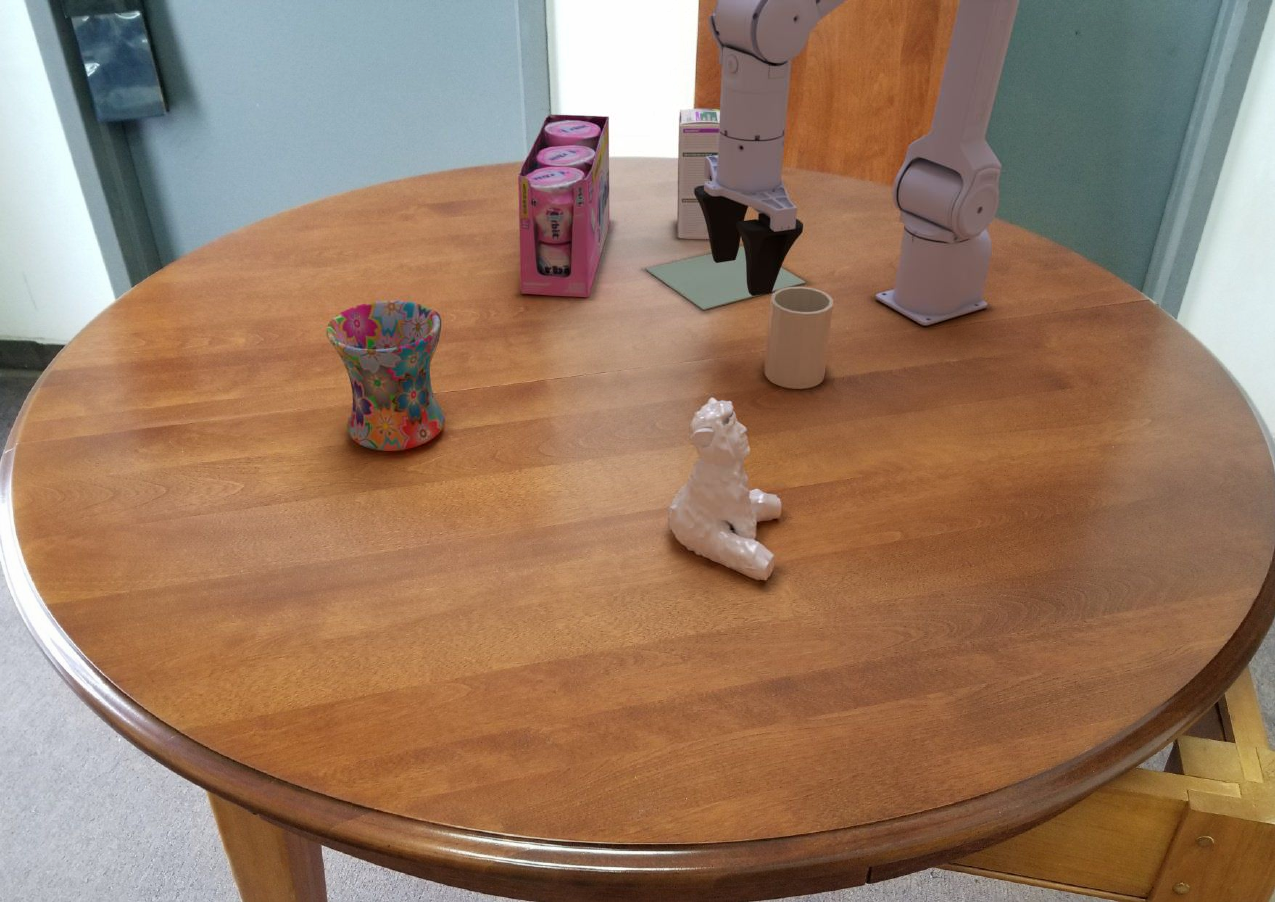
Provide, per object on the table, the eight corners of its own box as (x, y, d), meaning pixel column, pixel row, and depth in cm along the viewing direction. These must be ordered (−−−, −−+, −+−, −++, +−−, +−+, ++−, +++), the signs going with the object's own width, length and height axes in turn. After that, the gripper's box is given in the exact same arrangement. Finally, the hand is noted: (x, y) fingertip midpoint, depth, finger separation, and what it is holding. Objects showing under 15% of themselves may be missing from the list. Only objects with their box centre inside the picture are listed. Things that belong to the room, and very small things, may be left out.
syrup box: (723, 240, 132) (730, 122, 124) (675, 239, 132) (679, 121, 124) (721, 222, 137) (727, 108, 129) (675, 221, 137) (678, 107, 129)
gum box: (589, 304, 117) (587, 183, 110) (517, 301, 118) (511, 180, 110) (610, 222, 137) (610, 115, 129) (549, 219, 137) (545, 112, 130)
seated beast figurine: (772, 587, 78) (787, 451, 72) (656, 573, 80) (660, 437, 73) (781, 511, 86) (794, 381, 80) (675, 499, 87) (679, 370, 81)
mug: (407, 471, 90) (393, 360, 84) (321, 443, 94) (302, 334, 88) (487, 406, 99) (479, 301, 93) (406, 382, 103) (393, 280, 97)
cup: (799, 354, 108) (807, 281, 104) (836, 379, 104) (846, 304, 99) (752, 368, 106) (758, 294, 101) (788, 394, 101) (796, 318, 97)
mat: (744, 247, 131) (744, 245, 131) (805, 283, 122) (805, 281, 122) (646, 270, 125) (646, 268, 125) (703, 310, 116) (703, 308, 116)
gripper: (676, 112, 97) (672, 252, 104) (747, 162, 86) (736, 315, 93) (746, 104, 99) (737, 242, 107) (824, 152, 88) (808, 303, 95)
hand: (741, 276), depth 100 cm, fingers open, 7 cm apart
